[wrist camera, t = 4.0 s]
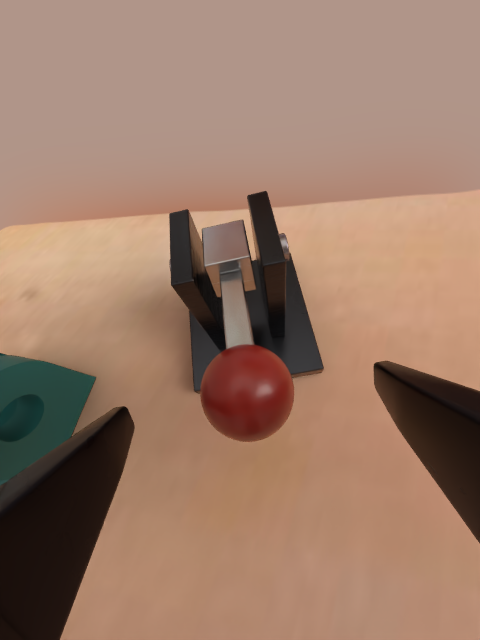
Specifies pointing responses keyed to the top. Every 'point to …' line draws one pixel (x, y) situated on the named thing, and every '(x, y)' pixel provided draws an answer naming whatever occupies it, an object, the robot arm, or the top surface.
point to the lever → (240, 348)
